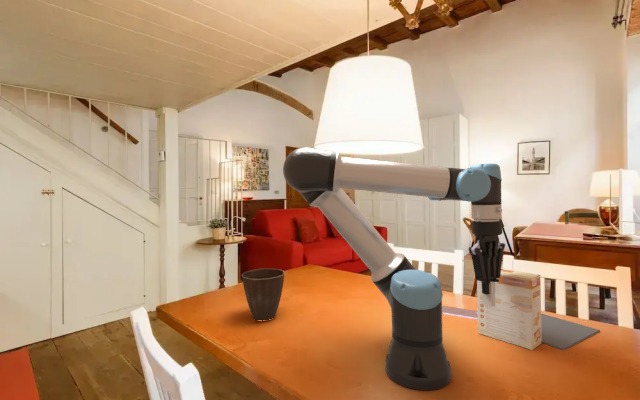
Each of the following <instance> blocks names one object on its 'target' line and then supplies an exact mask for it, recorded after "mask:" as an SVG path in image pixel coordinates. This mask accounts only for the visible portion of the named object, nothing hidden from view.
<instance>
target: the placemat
mask: <svg viewBox="0 0 640 400" xmlns="http://www.w3.org/2000/svg"><path fill="white" fill-rule="evenodd" d="M600 330H601V329H598V328H594V327H591V326H587V325H583V324H580V323H576V322H574V321H570V320H565V319H563V318H558V317H555V316H553V315H548V314H546V313H545V314H544V313H541V339H542V340H541V342H542V343H541V344H544V345H547V346H550V347H553V348H554V349H558V350H561V351H564V350H565V351H566V350H567V349H569V348H571V347H573V346H575V345H577V344H579V343H581V342H583V341H585V340H586V339H588V338H590V337H592V336H595V335H596V334H598V333H600V332H601V331H600Z"/></svg>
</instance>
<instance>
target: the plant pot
mask: <svg viewBox="0 0 640 400" xmlns="http://www.w3.org/2000/svg"><path fill="white" fill-rule="evenodd" d="M241 277H242V278H241V280H242V283H243V284H242V286H243V290H244V294H245V298H246V302H247V304H248V308H249V310H250V313H251V316H252V318H253V320H254V319H255V320H262V321H263V320H269V319H272V318H274V317H275V318H276V315H277V312H278V308H279V305H280V302H281V298H282V293H283V287H284V281H285V271H284V270H282V269H278V268H257V269H252V270H248V271H244V272H243V273H242V274H241ZM275 318H274V319H275ZM255 320H254V321H255ZM272 320H273V319H272Z"/></svg>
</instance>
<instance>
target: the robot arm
mask: <svg viewBox="0 0 640 400" xmlns="http://www.w3.org/2000/svg"><path fill="white" fill-rule="evenodd" d="M282 174H283V178H284V181H286V183H287V184H288V186H289V187H290V188H291V189H293V190H294V191H297V192H298V193H299V194H300V195H301V197H302V198H303V199H304V200H305V201H306V203H307V204H308V205H309V206H310V207H316V208H318V209H319V210H320V211H321V213H322V214H323V215H324V216H325V218H326V219H327V220H328V221H329V222H330V223H331V224H332V226H333V227H334V228H335V230H336V231H337V232H338V233H339V235H341V237H342V238H343V239H344V240H345V241H346V243H347V244H348V245H349V246H350V248H351V249H352V250H353V251H354V252H355V254H356V255H357V256H358V258H359V259H360V260H361V261H362V262H363V263H364V265H365V266H366V267H367V269H369V271H370V272H371V276H370V277H371V278H370V280H371V282H372V283H373V284H374V285H375V286H376V288H377V289H378V290H379V292H380V293H382V295H383V296H384V297H385V298H386V300H387V302H388V304H389V306H390V311H391V340H390V344H389V348H388V353H387V354H386V357H385V364H384V365H385V372H386V374H387V376H388V377H389V379H391V380H392V382H395V383H397V384H398V385H400V386H402V387H405V388H409V389H414V390H416V391H417V390H418V391H434V390H439V389H442V388H444V387H446V386H447V385H448V384H449V383H450V382H451V381H452V367H451V364H450V361H449V360H448V357H447V353H446V349H445V347H444V343H443V342H444V341H443V314H442V306H443V290H442V284H441V283H442V282H441V281H440V279H439V278H438V277H437V276H436V275H434V274H433V273H431V272H427V271H425V270H419V269H416V267H414V265H413V264H412V262H411V261H409V259H408V258H407V257H406V255H405V254H403V253H397V252H395V251H394V250H393V248H392V247H391V245H389V244H388V242H387V241H386V240H385V239H384V238H383V236H382V235H381V234H380V232H379V231H378V230H377V229H376V227H374V225H373V224H372V223H371V222H370V221H369V219H368V218H367V217H366V216H365V215H364V213H363V212H362V211H361V210H360V209H359V207H358V206H357V205H356V204H355V202H354V201H353V200H352V199H351V197H349V195H348V194H347V193H346V192H345V191H344V189H346V190H356V191H358V190H359V191H367V192H375V193H376V192H377V193H386V194H397V195H405V196H416V197H424V198H425V197H427V198H428V199H429V200H431V201H439V202H441V201H462V202H468V203H469V202H470V205H471V206H470V207H471V208H470V211H471V212H470V216H471V217H470V218H471V219H472V221H471V233H472V234H473V235H475V238H474V239H475V240H474V245H473V246H470V247H468V252H469V254H470V256H471V261H472V266H473V271H474V276H475V280H476V281H477V280H478V281H481V282H482V296H483V304H484V305H487V306H490V307H493V306H495V282H499V280H498V279H497V278H500V274H501V269H502V263H503V255H504V251H505V247H506V244H505V243H504V242H503V243H502V242H500V237H499V236H500V235H502V234H503V221H502V218H503V215H502V213H503V209H502V180H503V179H502V174H501V166H500V165H499V164H498V163H479V164H478V163H477V164H472V165H471V166H470V167H468V168H457V167H456V168H455V167H447V166H440V165H439V166H438V165H437V166H436V165H426V164H416V163H407V162H398V161H397V162H396V161H386V160H377V159H376V160H375V159H367V158H356V157H355V158H354V157H346V156H342V154H341V153H339V151H331V150H322V149H319V148H313V147H309V146H307V147H303V146H302V147H299V148H296V149H294V150H293V151H291V152H290V153H289V154H288V155H287V157H286V158H285V160H284V163H283V167H282Z"/></svg>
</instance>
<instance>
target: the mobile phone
mask: <svg viewBox="0 0 640 400" xmlns="http://www.w3.org/2000/svg"><path fill="white" fill-rule="evenodd" d="M442 315H446V316H447V315H448V316H452V317H453V316H454V317H459V318H466V319H471V320H477V321H478V310H475V309H467V308H461V307H453V306H445V305H442Z"/></svg>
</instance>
